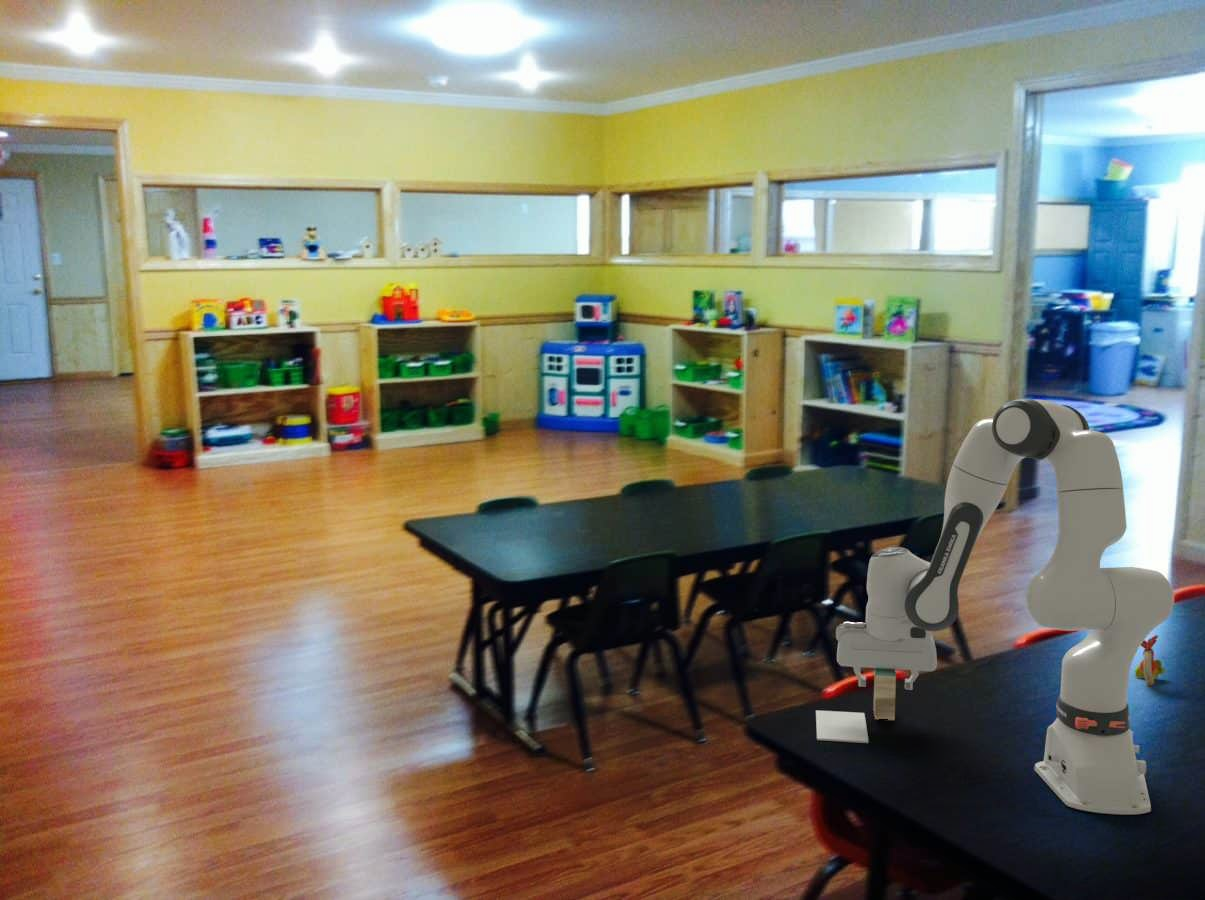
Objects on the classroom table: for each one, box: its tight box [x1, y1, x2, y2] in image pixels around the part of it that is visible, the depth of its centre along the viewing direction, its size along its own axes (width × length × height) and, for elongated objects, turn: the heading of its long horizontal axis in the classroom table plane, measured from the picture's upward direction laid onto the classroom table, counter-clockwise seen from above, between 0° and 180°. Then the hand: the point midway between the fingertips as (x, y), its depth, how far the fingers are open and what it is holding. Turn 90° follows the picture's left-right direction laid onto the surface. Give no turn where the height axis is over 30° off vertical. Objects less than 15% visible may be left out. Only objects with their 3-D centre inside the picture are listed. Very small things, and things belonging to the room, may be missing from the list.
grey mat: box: [815, 710, 869, 744], centre depth 223 cm, size 14×10×1 cm
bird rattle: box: [1134, 634, 1166, 687], centre depth 244 cm, size 6×11×9 cm
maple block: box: [873, 668, 897, 721], centre depth 228 cm, size 4×4×10 cm
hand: (885, 687), depth 229 cm, fingers open, 8 cm apart
